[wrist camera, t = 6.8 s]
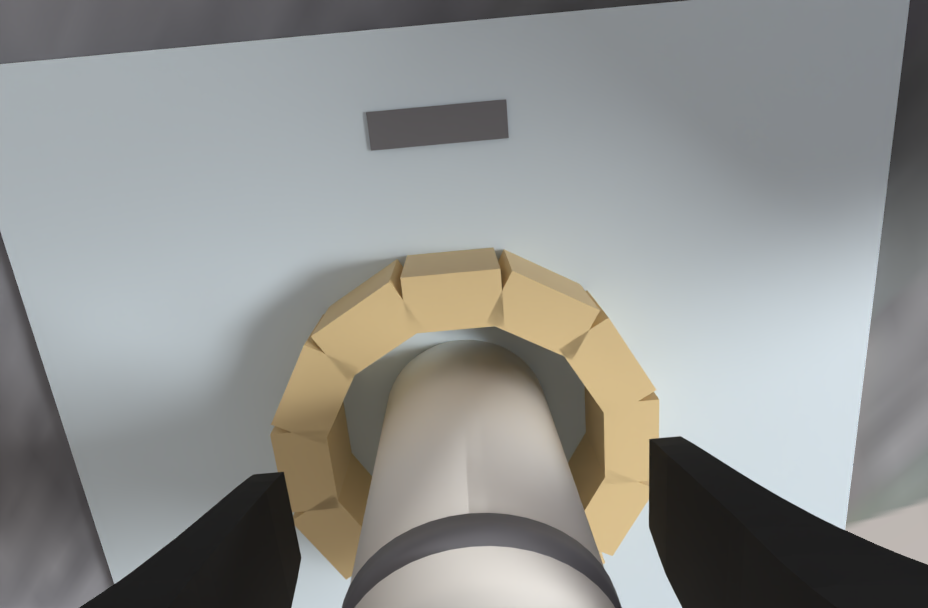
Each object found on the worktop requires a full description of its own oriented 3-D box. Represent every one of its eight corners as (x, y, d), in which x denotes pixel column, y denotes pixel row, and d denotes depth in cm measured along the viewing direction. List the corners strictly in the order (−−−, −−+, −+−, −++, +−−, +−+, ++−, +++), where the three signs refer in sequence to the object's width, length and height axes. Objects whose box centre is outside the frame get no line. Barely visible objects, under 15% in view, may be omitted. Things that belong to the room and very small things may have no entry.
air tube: (544, 330, 15) (650, 568, 7) (551, 476, 16) (648, 815, 8) (374, 345, 15) (295, 600, 7) (395, 491, 16) (347, 842, 8)
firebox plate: (892, -15, 13) (996, -45, 11) (817, 639, 18) (874, 721, 16) (-31, 70, 13) (-143, 60, 11) (165, 696, 19) (121, 787, 16)
